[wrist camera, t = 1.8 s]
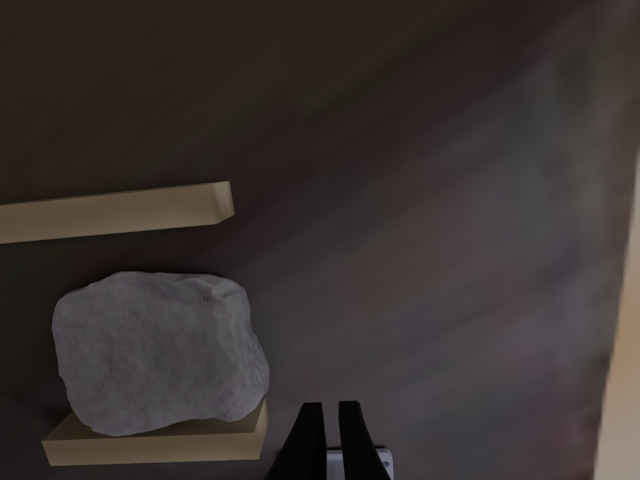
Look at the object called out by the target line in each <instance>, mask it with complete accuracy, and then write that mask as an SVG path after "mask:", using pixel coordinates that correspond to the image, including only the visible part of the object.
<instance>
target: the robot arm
mask: <svg viewBox="0 0 640 480" xmlns="http://www.w3.org/2000/svg"><path fill="white" fill-rule="evenodd" d="M339 427H340V437H341V446H342V450H327V445H326V436H325V428H324V419H323V411H322V402H315V403H304V404H303V405H302V407H301V409H300V412H299V414H298V417H297V419H296V421H295V423H294V426H293V428H292V430H291V432H290V434H289V436H288V438H287V440H286V442H285V443H284V445H283V447H282V449H281V451H280V453H279V455H278V457H277V458H276V460H275V462H274V463H273V465H272V467H271V468H270V470H269V472H268V473H267V475H266V477H265V478H264V480H394V478H393V461H392V454H391V451H390V450H388V449H385V448H382V449H376V448H375V446H374V444H373V442H372V440H371V437H370V435H369V432H368V430H367V427H366V425H365V422H364V419H363V416H362V412H361V408H360V403H359V402H358V401H339ZM385 461H386V462H385Z"/></svg>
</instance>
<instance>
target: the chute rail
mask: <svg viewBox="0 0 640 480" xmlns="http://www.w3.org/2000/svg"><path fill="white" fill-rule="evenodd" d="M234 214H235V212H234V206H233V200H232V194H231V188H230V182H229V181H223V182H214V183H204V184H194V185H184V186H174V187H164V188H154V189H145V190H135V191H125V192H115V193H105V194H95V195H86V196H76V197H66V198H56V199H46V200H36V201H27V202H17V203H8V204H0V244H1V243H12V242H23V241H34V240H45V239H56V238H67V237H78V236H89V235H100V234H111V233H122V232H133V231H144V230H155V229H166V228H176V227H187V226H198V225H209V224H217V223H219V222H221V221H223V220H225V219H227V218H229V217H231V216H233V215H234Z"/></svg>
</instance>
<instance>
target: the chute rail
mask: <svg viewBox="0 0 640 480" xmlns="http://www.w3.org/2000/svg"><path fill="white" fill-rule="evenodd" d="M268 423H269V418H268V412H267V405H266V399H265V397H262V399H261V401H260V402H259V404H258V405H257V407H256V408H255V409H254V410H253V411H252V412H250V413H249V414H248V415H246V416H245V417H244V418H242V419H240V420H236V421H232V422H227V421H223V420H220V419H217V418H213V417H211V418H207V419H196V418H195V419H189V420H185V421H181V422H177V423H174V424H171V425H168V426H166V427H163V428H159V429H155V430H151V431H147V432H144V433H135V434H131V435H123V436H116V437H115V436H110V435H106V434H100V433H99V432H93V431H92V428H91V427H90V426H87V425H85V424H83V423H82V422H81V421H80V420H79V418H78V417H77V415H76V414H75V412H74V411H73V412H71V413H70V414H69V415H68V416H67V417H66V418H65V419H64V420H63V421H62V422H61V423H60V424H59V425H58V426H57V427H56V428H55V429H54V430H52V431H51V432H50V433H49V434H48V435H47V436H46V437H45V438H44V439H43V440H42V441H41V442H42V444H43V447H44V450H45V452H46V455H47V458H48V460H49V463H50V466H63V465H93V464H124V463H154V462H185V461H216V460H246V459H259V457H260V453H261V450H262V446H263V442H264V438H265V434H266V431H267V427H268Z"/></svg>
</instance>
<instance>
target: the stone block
mask: <svg viewBox="0 0 640 480" xmlns="http://www.w3.org/2000/svg"><path fill="white" fill-rule="evenodd" d="M52 332H53V337H54V340H55V346H56V353H57V357H58V366H59V375H60V376H61V378H62V379H63V380H64V383H65V386H66V388H67V398H68V400H69V402H70V404H71V407H72V409H73V411H74V412H75V414H76V415H77V417H78V418H79V420H80V421H81V422H82V423H83V424H85V425H87V426H90V427H91V428H92V431H93V432H99V433H100V434H106V435H110V436H115V437H116V436H123V435H131V434H135V433H144V432H147V431H151V430H155V429H159V428H163V427H166V426H168V425H171V424H174V423H177V422H181V421H185V420H189V419H195V418H196V419H207V418H211V417H213V418H217V419H220V420H223V421H227V422H232V421H236V420H240V419H242V418H244V417H245V416H246V415H248V414H249V413H250V412H252V411H253V410H254V409H255V408H256V407H257V405H258V404H259V402H260V401H261V399H262V397H263V396H264V394H265V393H266V392H267V391H268V387H269V375H270V367H269V364H268V361H267V358H266V356H265V355H264V352H263V349H262V347H261V346H260V344H259V341H258V339H257V337H256V335H255V334H254V333H253V331H252V328H251V325H250V306H249V302H248V299H247V293H246V291H245V288H244V287H242V286H240V285H239V284H237V283H236V282H234V281H232V280H230V279H227V278H221V277H218V276H214V275H210V274H172V273H146V272H141V271H137V272H125V271H123V272H117V273H115V274H113V275H111V276H109V277H107V278H105V279H103V280H101V281H98V282H94V283H91V284H89V285H88V286H87V287H84V288H79V289H75V290H74V291H71V292H69V293H66V295H65V296H64V297H63V298H61V299H60V300H59V301H58V303H57V305H56V307H55V313H54V314H53V323H52Z"/></svg>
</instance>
